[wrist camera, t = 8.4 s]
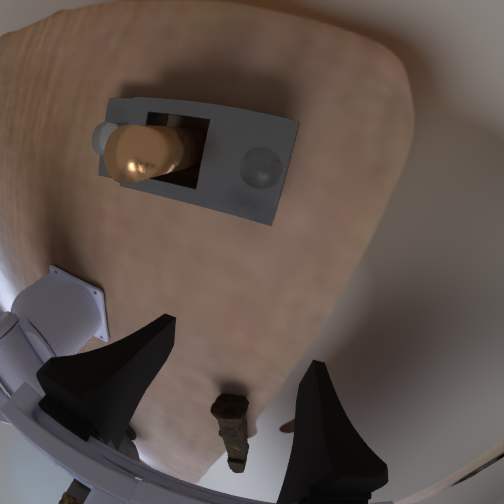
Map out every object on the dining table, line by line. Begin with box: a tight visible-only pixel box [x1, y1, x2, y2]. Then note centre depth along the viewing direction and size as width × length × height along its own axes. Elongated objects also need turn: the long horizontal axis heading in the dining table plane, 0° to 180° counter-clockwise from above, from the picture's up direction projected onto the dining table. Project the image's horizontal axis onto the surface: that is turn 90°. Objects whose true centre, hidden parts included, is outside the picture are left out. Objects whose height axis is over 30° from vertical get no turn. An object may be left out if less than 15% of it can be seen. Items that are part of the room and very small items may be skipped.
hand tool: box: [211, 394, 249, 473], centre depth 30 cm, size 19×4×5 cm, turn 0°
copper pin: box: [104, 125, 206, 184], centre depth 15 cm, size 3×3×8 cm
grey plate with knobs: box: [92, 97, 300, 226], centre depth 17 cm, size 15×7×3 cm, turn 77°
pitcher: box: [59, 426, 140, 504], centre depth 28 cm, size 11×19×30 cm, turn 3°
